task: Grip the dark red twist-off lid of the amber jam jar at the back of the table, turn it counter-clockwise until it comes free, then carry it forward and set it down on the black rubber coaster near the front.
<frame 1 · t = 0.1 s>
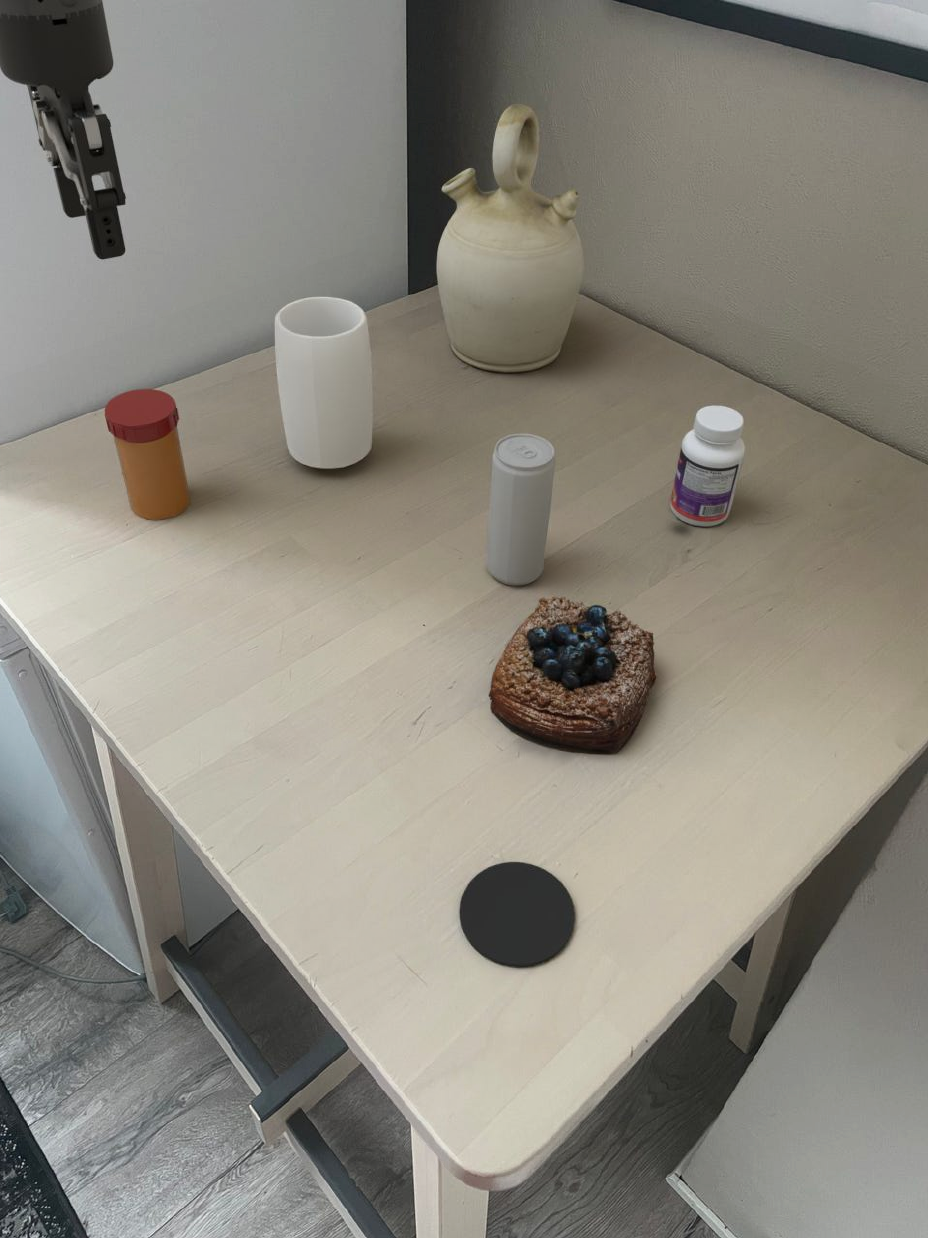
hand: (94, 234, 80), 22 cm above the table, tool pointing down, fingers open, 8 cm apart
jam jar: (160, 502, 92), on the table
coaster: (516, 914, 63), on the table
jug: (505, 348, 114), on the table
pill bottle: (698, 511, 93), on the table
beverage can: (514, 571, 86), on the table
jar lid: (140, 409, 85), point 9 cm above the table, screwed on, not yet turned
cup: (330, 457, 98), on the table
pastry: (572, 693, 76), on the table
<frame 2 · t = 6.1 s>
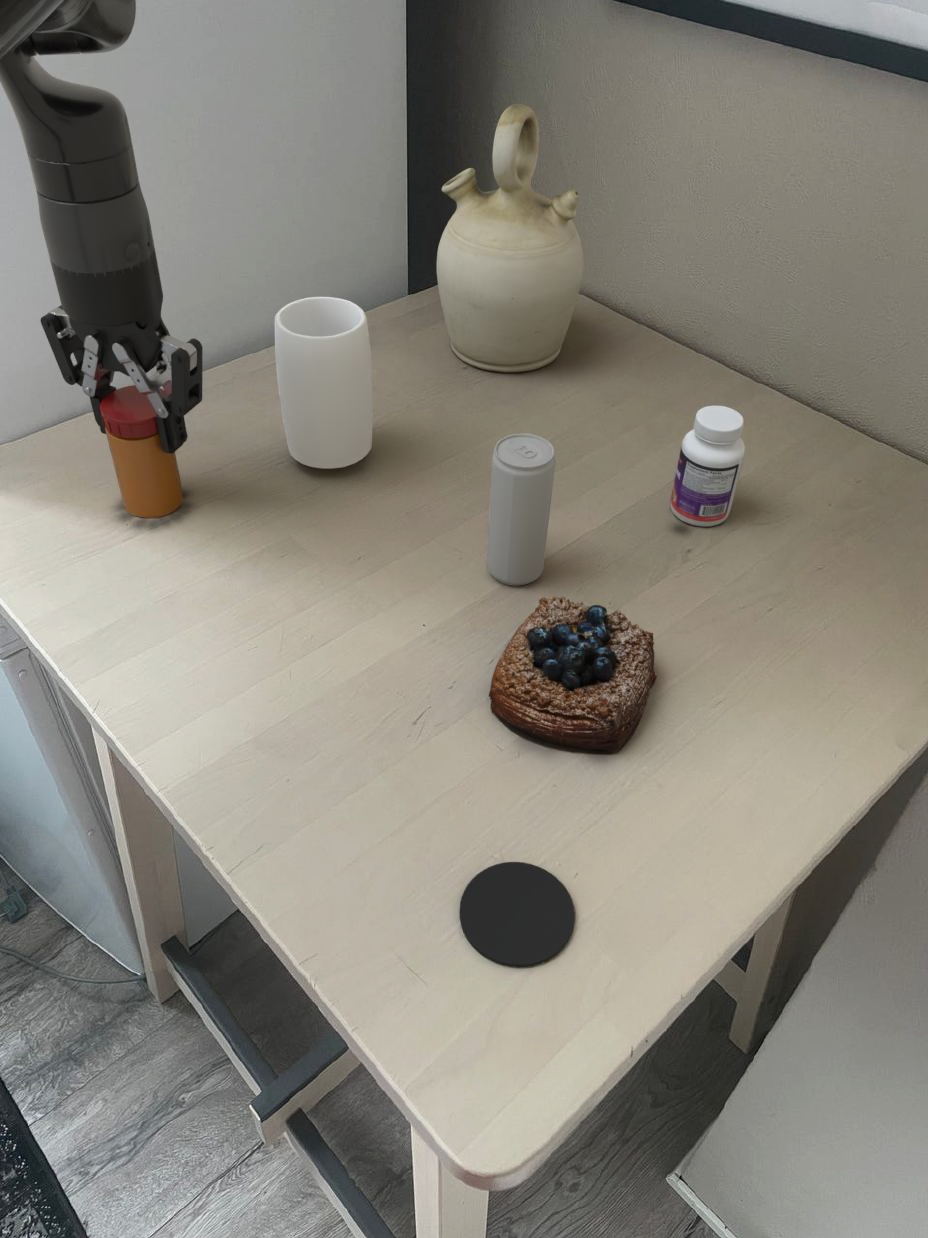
hand: (143, 438, 87), 6 cm above the table, tool pointing down, fingers closed on jar lid, 5 cm apart
jam jar: (153, 500, 92), on the table, touching gripper
jar lid: (136, 405, 85), point 10 cm above the table, off its thread, touching gripper
everything else where it was.
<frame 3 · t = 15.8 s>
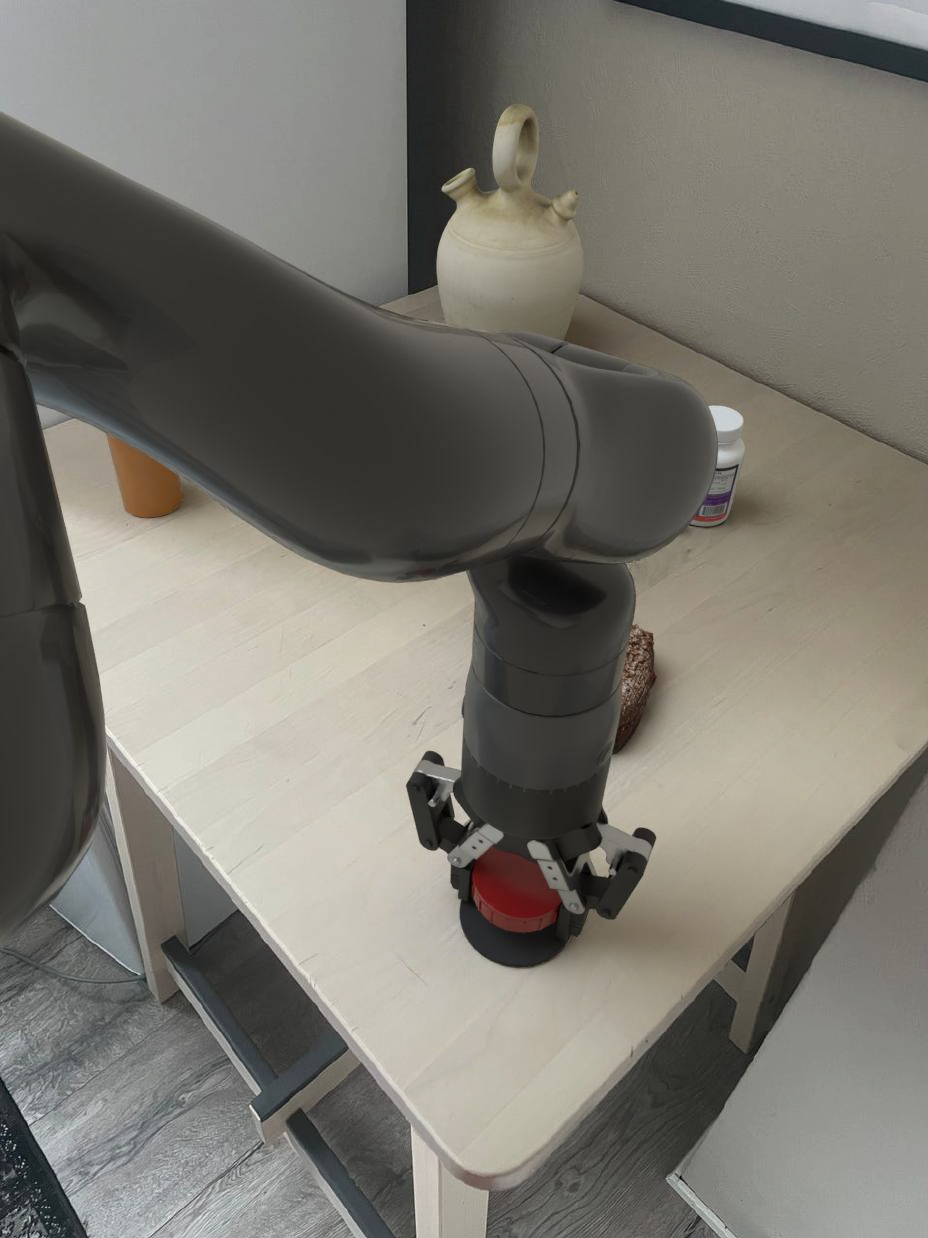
hand: (516, 907, 62), 1 cm above the table, tool pointing down, fingers closed on jar lid, 5 cm apart
jam jar: (153, 500, 92), on the table
jar lid: (521, 877, 60), point 4 cm above the table, off its thread, touching gripper
everything else where it was.
when the fingers open (1 cm above the table, at t = 24.4 s): jar lid drops 3 cm, resting on coaster.
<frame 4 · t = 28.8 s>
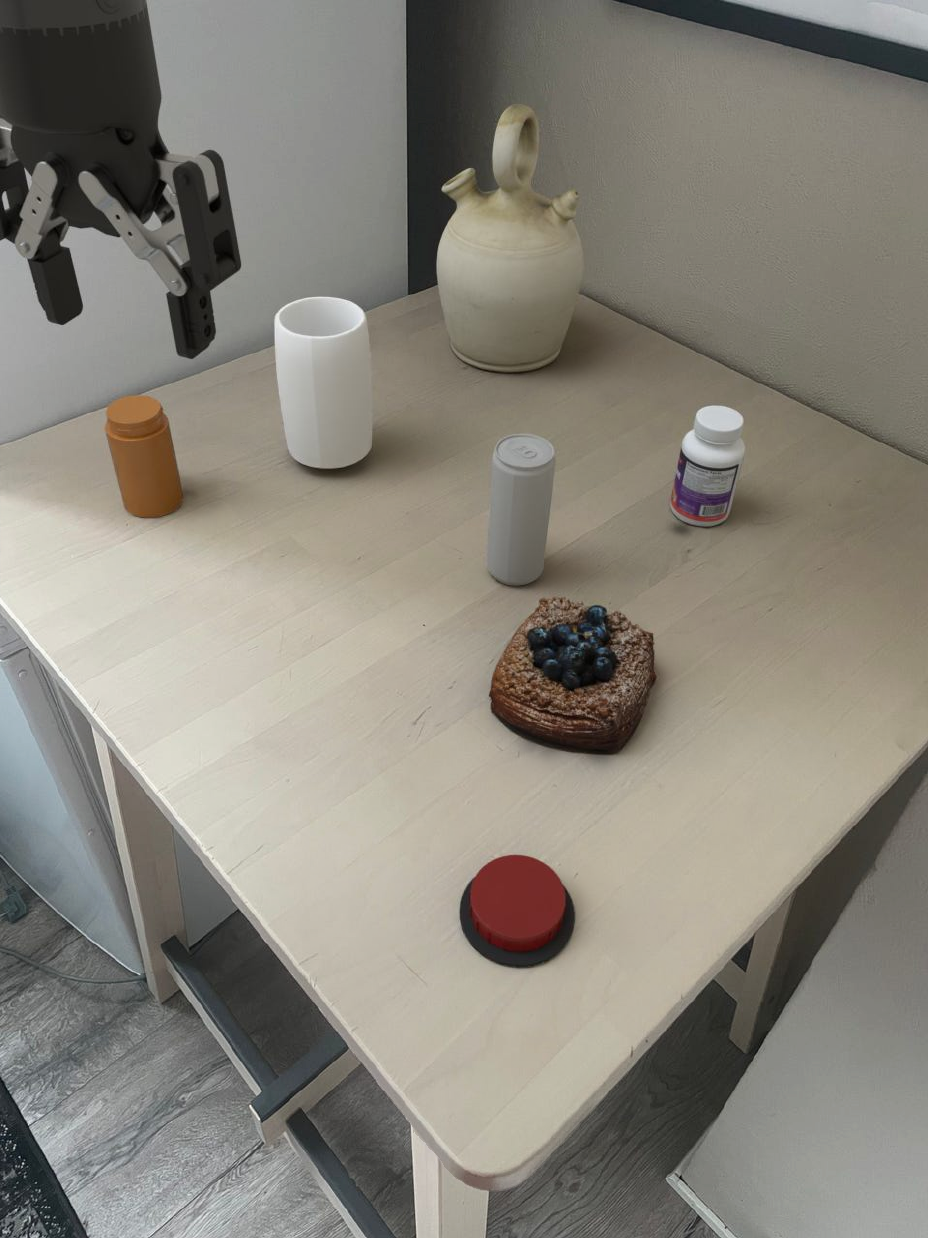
hand: (129, 334, 56), 28 cm above the table, tool pointing down, fingers open, 8 cm apart
jar lid: (517, 897, 62), point 2 cm above the table, off its thread, touching coaster
everything else where it was.
at the end: jar lid inside the target area on the coaster (0.1 cm from its centre), point 1.7 cm above the coaster's base; jar lid point 1.7 cm above the table; the gripper is holding nothing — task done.
